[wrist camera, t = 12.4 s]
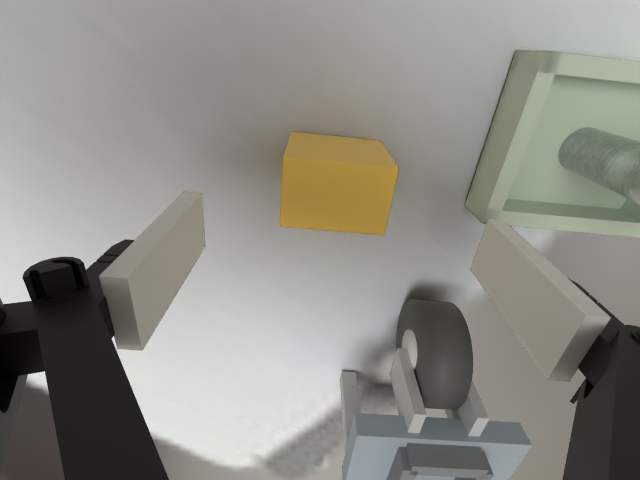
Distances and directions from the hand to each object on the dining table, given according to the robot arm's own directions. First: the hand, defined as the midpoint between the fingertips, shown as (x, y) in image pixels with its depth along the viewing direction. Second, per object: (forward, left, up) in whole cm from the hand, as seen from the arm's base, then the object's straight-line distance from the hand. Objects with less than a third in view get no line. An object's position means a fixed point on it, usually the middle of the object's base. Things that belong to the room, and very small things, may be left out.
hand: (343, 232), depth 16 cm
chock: (0, 0, -9) cm, 9 cm away
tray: (-3, +16, -9) cm, 19 cm away
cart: (+15, +9, -9) cm, 20 cm away
